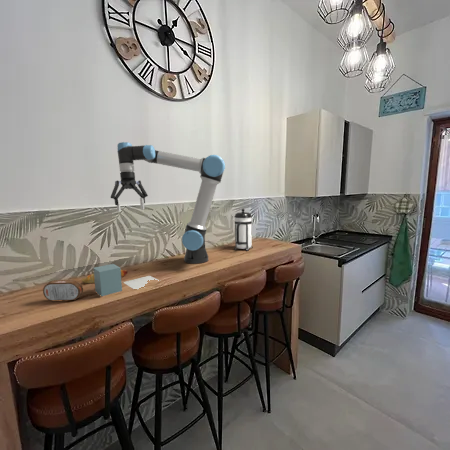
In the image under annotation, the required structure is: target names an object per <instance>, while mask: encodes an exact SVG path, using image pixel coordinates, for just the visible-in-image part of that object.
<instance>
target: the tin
mask: <svg viewBox="0 0 450 450" xmlns="http://www.w3.org/2000/svg"><path fill="white" fill-rule="evenodd" d="M42 289H43V290H42V294H43V296H44V298H45V299H46V300H48V301H50V300H74V301H76V300H77V299H78V298H81V296H82V295H83V292H84V287H83V286H82V284H81V283H80V282H79V281H77V280H74V279H67V280H66V279H61V280H60V279H59V280H58V279H56V280H51V281H49V282H48V283H46V284H45V285H44V286H43V288H42Z"/></svg>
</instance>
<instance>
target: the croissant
mask: <svg viewBox="0 0 450 450" xmlns="http://www.w3.org/2000/svg"><path fill="white" fill-rule="evenodd" d="M127 274H128V270H126V269H125V270H123V269H121V278H124V276H126V275H127ZM81 283H84V284H95V280H94V273H91V274H89V275H87V276H86V277H84V278H82V279H81Z"/></svg>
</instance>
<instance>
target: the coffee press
mask: <svg viewBox="0 0 450 450" xmlns="http://www.w3.org/2000/svg"><path fill="white" fill-rule="evenodd" d="M252 217H253V216H252V214H251V212H246V211H245V209H244V208H242V209H241V211H239V212H236V213H235V214H234V239H235V240H234V242H235V245H234V246H235V247H234V248H233V250H235V251H237V250H238V249H243V250H245V251H246V252H249V251H250V249H253V244H252V238H253V237H252V223H253V222H252Z"/></svg>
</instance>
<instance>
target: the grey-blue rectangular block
mask: <svg viewBox="0 0 450 450" xmlns="http://www.w3.org/2000/svg"><path fill="white" fill-rule="evenodd" d="M121 270H122V269H121V267H120V266H118V265H116V264H114V263H111V264H105V265H101V266H96V267H93V274H94V280H95V283H94V288H95V293H96V292H97V295H99V296H100V295H101V296H102V297H104V296H105V297H106V296H108V295H112V294H115V293H119V292H122V291H123V285H122V284H123V281H122V277H121ZM101 296H100V297H101Z"/></svg>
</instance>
